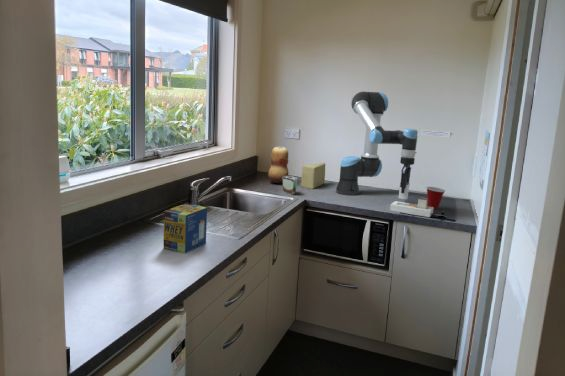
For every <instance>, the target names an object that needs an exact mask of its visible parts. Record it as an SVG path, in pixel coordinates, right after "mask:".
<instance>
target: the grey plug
mask: <svg viewBox="0 0 565 376" xmlns="http://www.w3.org/2000/svg"><path fill="white" fill-rule="evenodd" d="M400 184H401V182H400V183H399V185H400ZM409 190H410V182H409V183H407V182H406V194H405V199H404V200H408V199H409ZM400 192H401V187H400V186H399V191H398V199H400V200H402V199H401V198H400Z"/></svg>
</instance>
